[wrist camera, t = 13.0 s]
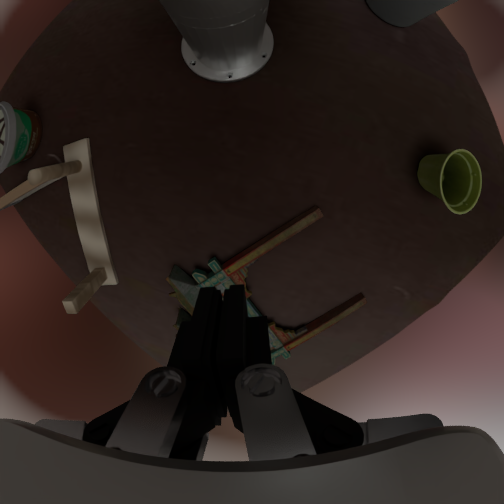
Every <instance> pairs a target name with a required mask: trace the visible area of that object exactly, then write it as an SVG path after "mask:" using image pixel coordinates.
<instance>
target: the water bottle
mask: <svg viewBox="0 0 504 504" xmlns="http://www.w3.org/2000/svg"><path fill="white" fill-rule="evenodd" d="M457 1H458V0H366V2H367V4H368V5H369V7H370V8H371V10H372V11H373V12H374V13H375V14H376V15H377V16H378V17H380V18H381V19H382V20H384V21H386V22H387V23H389V24H392V25H395V26H399V27H408V26H411V25H412V24H414V23H416V22H418V21H420V20H421V19H423V18H425V17H427V16H429V15H431V14H432V13H434V12H436V11H438V10H440V9H442V8H444V7H446V6H448V5H450V4H452V3H454V2H457Z"/></svg>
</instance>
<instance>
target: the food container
mask: <svg viewBox="0 0 504 504" xmlns="http://www.w3.org/2000/svg"><path fill="white" fill-rule="evenodd" d="M41 137H42V123H41V119H40V117H39V115H38V114H37V113H36V112H34V111H31V110H26V109H21V108H15V107H11V105H10V104H9V103H7V102H4V101H3V102H0V173H2V172H3V171H4V170H5V168H6V167H9V166H11V165H14V164H16V163H19V162H22V161H24V160H27V159H29V158H31V157H32V156H33V155H34V154H35V152H36V151H37V149H38V147H39V144H40V142H41Z"/></svg>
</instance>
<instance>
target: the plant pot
mask: <svg viewBox="0 0 504 504" xmlns="http://www.w3.org/2000/svg"><path fill="white" fill-rule="evenodd" d="M417 176H418V180H419V183H420V184H421V186H422V187H423V188H424V189H425V190H427V191H429V192H430V193H432V194H433V195H435V196H436V197H438V198H439V199H441V200H442V201H443V202H444V203H445V205H446V206H447V208H448V209H449V210H450V211H452V212H453V213H456V214H464V213H467V212H469V211H470V210H471V209H472V208H473V207H474V206H475V204H476V202H477V200H478V198H479V195H480V192H481V185H482V177H481V170H480V167H479V164H478V162H477V160H476V159H475V157H474V156H473V155H472V154H471V153H470V152H469V151H467V150H464V149H457V150H454V151H452V152H451V153H449V154H435V155H427V156H425V157H424V158H422V160H421V161H420V163H419V168H418V172H417Z"/></svg>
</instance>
